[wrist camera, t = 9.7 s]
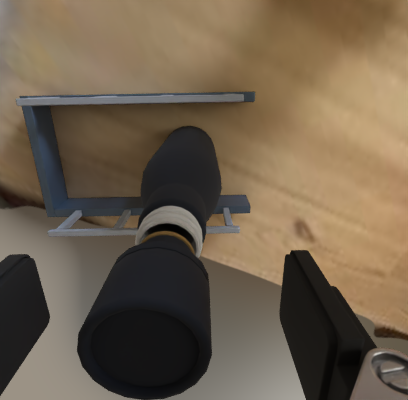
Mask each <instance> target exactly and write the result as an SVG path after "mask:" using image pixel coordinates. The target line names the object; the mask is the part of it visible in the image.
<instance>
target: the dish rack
mask: <svg viewBox="0 0 408 400" xmlns="http://www.w3.org/2000/svg"><path fill="white" fill-rule="evenodd" d="M254 101H255V92H212V93H161V94H110V95H58V96H20V99H16V103H17V106H22V109H23V114H24V118H25V122H26V126H27V131H28V135H29V139H30V143H31V148H32V152H33V156H34V161H35V165H36V169H37V173H38V178H39V182H40V186H41V190H42V195H43V199H44V203H45V208H46V212H47V215H48V217H68V218H67V219H66V220H65V221H64V222H63V223H62V224H61V225H60V226H59V227H58V228H57V229H51V230H49V231H48V236H49V237H57V236H107V235H136V233H137V231H138V229H137V228H123V227H124V225H125V224H126V222H127V220H128V219H129V217H130V215H141V213H142V211H143V209H144V208H143V204H142V199H141V197H111V198H68V196H67V191H66V186H65V181H64V176H63V171H62V166H61V161H60V156H59V151H58V146H57V141H56V136H55V131H54V126H53V121H52V116H51V111H50V106H57V105H108V104H160V103H211V102H254ZM230 213H250V204H249V202H248V199H247V197H246V195H220V197H219V200H218V204H217V206H216V208H215V210H214V212H213V214H223V215H224V221H225V226H206V234H210V233H239V232H240V228H239V226H233V224H232V220H231V215H230ZM81 216H120V218H119V220H118V221H117V223H116V224H115V226H114V227H113V228H103V229H69V228H70V227H71V226H72V225H73V224H74V223H75V222H76V221H77V220H78V219H79V218H80V217H81Z"/></svg>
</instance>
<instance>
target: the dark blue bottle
mask: <svg viewBox="0 0 408 400" xmlns="http://www.w3.org/2000/svg"><path fill="white" fill-rule="evenodd" d="M221 189H222V187H221V176H220V171H219V167H218V162H217V158H216V153H215V149H214V145H213V142H212V140H211V138H210V137H209V136H208V134H207V133H206V132H205V131H203V130H201V129H200V128H197V127H193V126H186V127H181V128H179V129H176V130H175V131H174V132H173V133H171V134H170V135H169V136H168V138H167V139H166V140H165V142H164V143H163V144H162V145H161V147H160V148H159V149H158V151H157V152H156V153H155V154H154V156H153V157H152V158H151V159H150V161H149V162H148V164H147V166H146V168H145V170H144V172H143V178H142V184H141V199H142V204H143V208H144V209H143V211H142V213H141V215H140V217H139V221H138V228H137V229H138V231H137V233H136V239H135V244H136V246H134V247H132V248H129V249H128V250H127V251H125V252H124V253H123V254H122V255H121V256H120V257H118V259H117V261H116V263H115V264H114V266H113V268H112V270H111V271H110V273H109V275H108V277H107V279H106V281H105V283H104V285H103V287H102V289H101V291H100V293H99V295H98V297H97V299H96V301H95V303H94V305H93V306H92V308H91V310H90V312H89V314H88V316H87V318H86V320H85V322H84V324H83V326H82V328H81V330H80V332H79V334H78V346H77V352H78V355H79V358H80V361H81V364H82V366H83V368H84V369H85V370H86V372H87V373H88V374H89V375H90V376H91V377H92V379H93V380H94V381H95V382H97V383H98V384H100V385H101V386H103V387H104V388H106V389H107V390H108V391H111V392H113V393H116V394H119V395H121V396H124V397H127V398H134V399H141V400H152V399H164V398H167V397H171V396H174V395H177V394H181V393H182V392H184V391H185V390H187V389H188V388H190V387H192V386H193V385H195V384H196V383H197V382H198V381H199V379H200V378H201V377H202V376H203V375H204V374H205V372H206V371H207V368H208V365H209V362H210V359H211V356H212V349H211V319H210V293H209V292H210V291H209V279H208V273H207V272H206V269H205V268H204V265H203V264H202V262H201V261H200V260H199V259H198V257H199V256H200V254H201V250H202V246H203V242H204V239H205V235H206V222H207V221H208V220H209V218H210V217H211V215H212V214H213V212H214V210H215V208H216V206H217V204H218V200H219V197H220V193H221Z"/></svg>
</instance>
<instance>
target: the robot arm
mask: <svg viewBox="0 0 408 400" xmlns="http://www.w3.org/2000/svg"><path fill="white" fill-rule="evenodd" d="M49 319H50V314H49V310H48V307H47V303H46V300H45V296H44V292H43V289H42V286H41V281H40V278H39V274H38V271H37V267H36V264H35V261H34V259H32V258H30V256H29V255H27V254H18V255H9V256H7V257H6V258H5V259H4V260H3V261H1V262H0V396H1V394H2V393H3V391H4V390H5V388H6V387H7V385H8V384H9V382H10V381H11V379H12V378H13V376H14V375H15V373H16V372H17V370H18V369H19V367H20V366H21V364H22V363H23V361H24V360H25V358H26V357H27V355H28V353H29V352H30V351H31V349H32V348H33V346H34V345H35V343H36V342H37V340H38V339H39V337H40V336H41V334H42V333H43V331H44V330H45V328H46V327H47V325H48V323H49ZM280 321H281V324H282V327H283V330H284V334H285V337H286V340H287V343H288V345H289V349H290V352H291V355H292V358H293V361H294V364H295V367H296V370H297V373H298V376H299V379H300V382H301V385H302V388H303V392H304V395H305V398H306V400H408V356H407V355H405V354H403V353H402V352H399V351H396V350H393V349H389V348H377V347H376V345H375V344H374V342H373V341H372V339H371V338H370V336H369V335H368V333H367V332H366V330H365V329H364V327H363V326H362V324H361V323H360V321H359V320H358V318H357V317H356V315H355V314H354V312H353V311H352V309H351V308H350V306H349V305H348V303H347V302H346V300H345V299H344V297H343V296H342V294H341V293H340V291H339V290H338V289H337V288H336V287H334V286H330V284H329V283H328V281H327V279H326V278H325V276H324V275H323V273H322V272H321V270H320V269H319V267H318V265H317V264H316V262H315V261H314V259H313V258H312V256H311V255H310V253H309V252H308V251H307V250H292V251H291V252H290V254H286V256H285V263H284V273H283V283H282V293H281V303H280Z"/></svg>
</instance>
